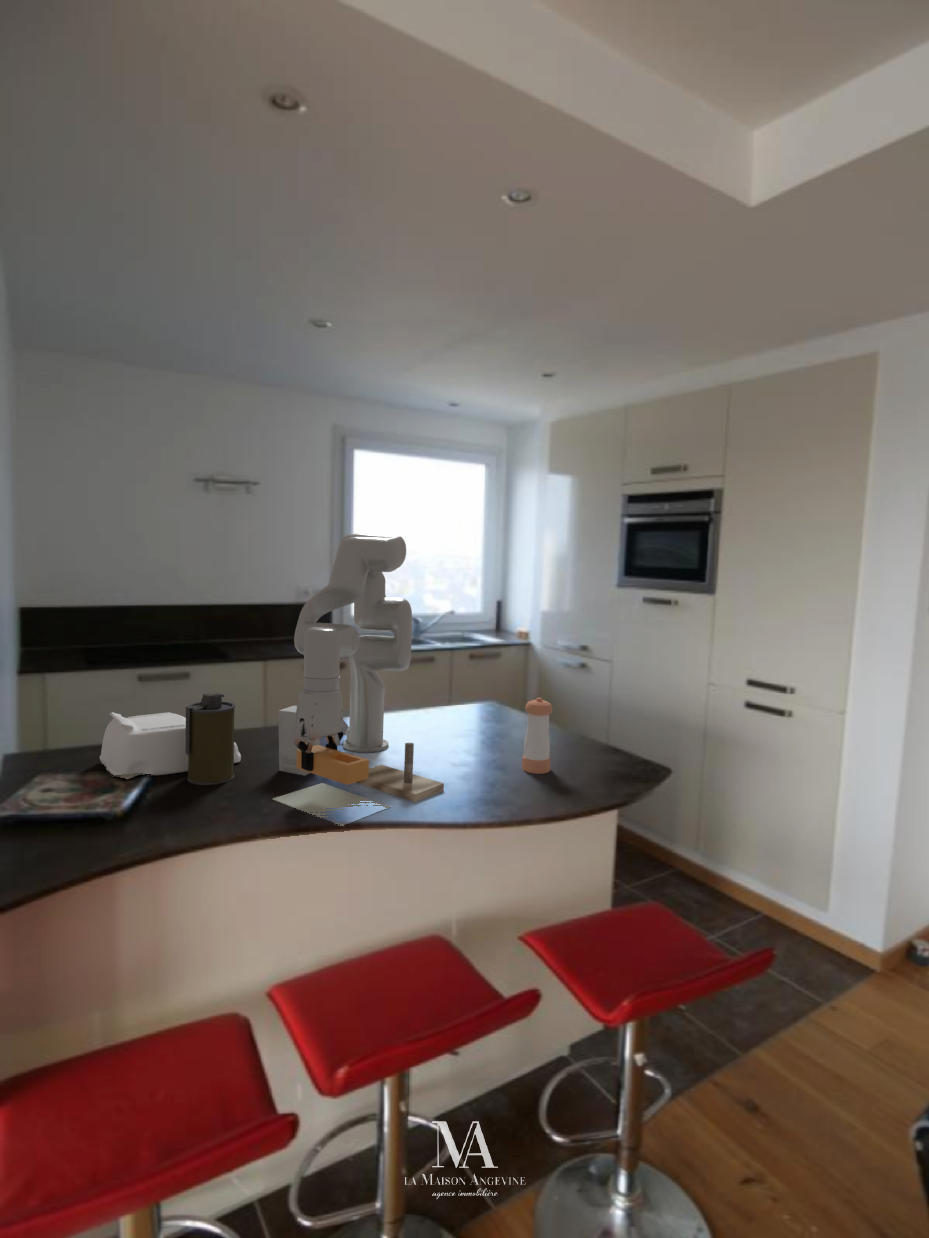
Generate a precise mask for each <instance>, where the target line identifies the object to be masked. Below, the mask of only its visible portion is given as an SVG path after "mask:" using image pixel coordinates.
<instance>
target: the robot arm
mask: <svg viewBox="0 0 929 1238" xmlns="http://www.w3.org/2000/svg"><path fill="white" fill-rule="evenodd" d="M406 557H407V545H406V542H405V539H404V538H403V537H402V536H401V535H398V534H384V533H383V534H382V533H381V534H378V533H377V534H376V533H349V534H346V535H344V536H342V538H341V540H340V543H339V545H338V548H337V552H336V555H335V559H334V562H333V566H332V569H331V574H330V578H329V580H328V583H327V585H326V586H324V587H323V588H322V587H321V589H320V590H318V591H317V592H315V594H313V596H312V597H310V598H309V599H308V600H307V601H306V603H304V605H303V607H302V609H301V610H300V613H299V616H298V620H297V624H296V627H295V630H294V635H293V636H294V638H293V642H294V647H295V649H296V650H297V653H299V654H301V655H303V688H302V689H303V690H301V691H300V693H299V695H298V699H297V704H296V706H297V710H296V720H295V730H294V732H293V733H292V735H291V736H290V740H291V741H292V742H293V743H294V744H295V745H296V746H297V747H298V748H299V750H300V751H302V752H301V768H302V769H305V770H308V771H312V770H313V755H314V753H313V752H311V751H312V747H313V744H314V741H315V739H318V738H320V739H322V738H326V742H327V743H326V744H325V746H324V747H327V748H330V749H334V750H338V747H339V746H340V745H341V741H342V739H343V737H344V736H346V739H345V740H344V741H343V742H342V746H343V748H344V749H345V750H347V751H350V752H354V753H355V752H356V753H364V754H365V753H376V752H381V751H384V750H386V749H388V748H389V742H388V741H387V740H386V739H384V723H385V722H384V719H385V717H384V714H385V691H386V688H385V683H384V681H383V679H382V677H381V675H380V674H379V672H378V671H391V672H392V671H393V672H402V671H406V670H407V669H408V668H409V667H410V665H411V661H412V639H413V638H412V635H413V633H412V631H413V629H412V628H413V613H412V607H411V604H410V602H409V601H408V600H407V599H405V598H402V597H394V596H392V597H391V596H390V597H389V596H386V595H387V594H386V577H385V575H384V573H390V572H391V573H392V572H394V571H396V570H398V569H399V568H400V567H401V566H402V565H403V564H404V562H405V560H406ZM352 604H353V618H354V624H355V627H357V628H358V629H360V630H363V631H369V632H370V631H373V632H390V633H392V634H393V636H390V635H389V636H387V635H379V634H378V635H376V634H375V635H374V634H373V635H372V634H361V635H359V632H358V630H357V629H356V628H355V627H354V626H352V625H349V624H345V623H330V622H329V623H328V622H318V621H319V619H320V618H321V617H323V616H324V615H326V614H328V613H330V612H332V611H334V610H337V609H341V608H343V607H346V606H349V605H352ZM341 658H348V663H349V676H350V677H349V678H350V679H349V682H350V683H349V685H350V686H349V688H350V689H349V719H348V720H349V724H347V723H346V721H345V720H344V709H343V707H344V706H343V697H342V692H341V689H340V683H341V682H342V677H341V676H340V665H341V663H340V660H341ZM300 736H302V739H300ZM307 740H309V741H308V744H307V745H306V743H307Z"/></svg>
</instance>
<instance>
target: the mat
mask: <svg viewBox="0 0 929 1238" xmlns="http://www.w3.org/2000/svg"><path fill="white" fill-rule="evenodd" d="M272 800H273V801H275V802H278V803H280V804H282V805H285V806H288V807H290V808H292V809H295V808H296V810H297V811H300V810H301V812H303V811H304V812H303V813H305V812H307V813H306V814H308V813H309V814H308V815H310V814H312V815H311V816H313V815H317V817H316V818H318V817H320V818H319V819H321V817H323V818H324V817H328V816H320V815H321V814H322V815H326V814H328V813H320V812H326V811H330V810H331V811H332V810H334V811H335V810H339V809H326V808H341V807H353V806H358V807H359V806H361V805H357V804H359V803H365V804H366V803H370V802H360V801H371V800H372V799H369V798H366V797H363V796H361V795H358V794H355V793H352V792H349V791H346V790H343V789H340V788H337V787H334V786H332V785H329V784H326V783H324V782H321V783H317V784H314V785H312V786H308V787H305V788H302V789H298V790H295V791H292V792H289V793H286V794H284V795H280V796H276V797H273V798H272ZM372 801H374V800H372ZM371 803H375V804H376V803H377V804H381V805H373V806H383V807H385V808H389V809H391V808H390V807H391V806H389V805H387V804H383V803H380V802H378V801H375V802H371ZM348 804H349V805H348ZM351 804H356V805H351ZM382 804H383V805H382ZM366 806H368V805H366ZM321 808H322V809H321ZM340 810H345V809H340ZM310 812H313V813H310ZM315 812H318V813H315ZM329 814H330V813H329ZM336 824H338V825H337V826H339V824H340V823H335V824H334V825H336ZM341 826H343V827H345V826H344V824H340V826H339V827H341Z"/></svg>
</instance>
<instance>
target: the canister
mask: <svg viewBox="0 0 929 1238" xmlns="http://www.w3.org/2000/svg"><path fill="white" fill-rule="evenodd" d="M224 697H225V695H224V694H222V693H219V692H215V693H204V694H202V698H201V700H200V701H199V702H194V703H191V704H189V705H188V706H186V707H185V718H186V754H187V755H188V771H187V773H188V776H187V777H186V778H187V779H186V780H187V782H189V783H191V784H193V785H197V786H198V785H199V786H210V785H211V786H213V785H214V786H215V785H220V784H225V783H227V782H230V781H232V780H233V779H234V778H235V772H234V771H235V770H234V769H235V768H234V767H235V763H234V742H235V708H236V704H234V703H233V702H230V701H224V700H223V699H222V698H224Z"/></svg>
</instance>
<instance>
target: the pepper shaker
mask: <svg viewBox="0 0 929 1238" xmlns="http://www.w3.org/2000/svg"><path fill="white" fill-rule="evenodd" d="M524 709H525V711H526V713H527V723H526V725H527V727H526V732H525V738H524V742H523V755H522V758H521V770H522V771H524V772H526V773H529V774H537V775H538V774H547V773H549V772H550V770H551V757H550V751H551V748H550V747H551V741H550V731H549V729H550V728H549V726H550V715H552V712H553V710H554V708H553V705H552V704H551V703H550V702H549V701H547V700H544V699H543V698H542V697H536V699H532V700H530V701H527V703H526V704H525V707H524Z"/></svg>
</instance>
